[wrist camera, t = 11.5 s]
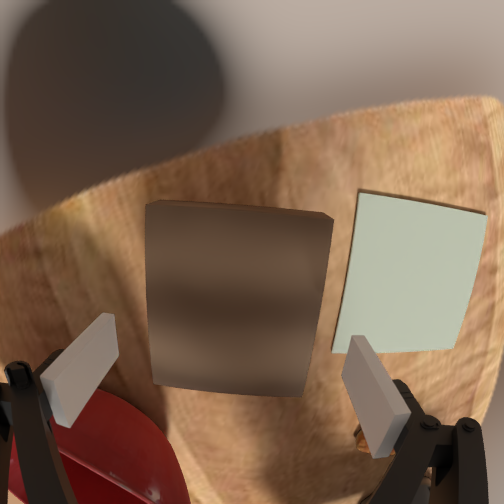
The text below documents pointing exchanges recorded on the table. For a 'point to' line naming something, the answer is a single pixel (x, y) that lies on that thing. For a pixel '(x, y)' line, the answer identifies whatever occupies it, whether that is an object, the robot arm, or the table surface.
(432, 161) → the table surface
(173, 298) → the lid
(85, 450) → the mixing bowl
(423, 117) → the table surface
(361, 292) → the mat
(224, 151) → the table surface
